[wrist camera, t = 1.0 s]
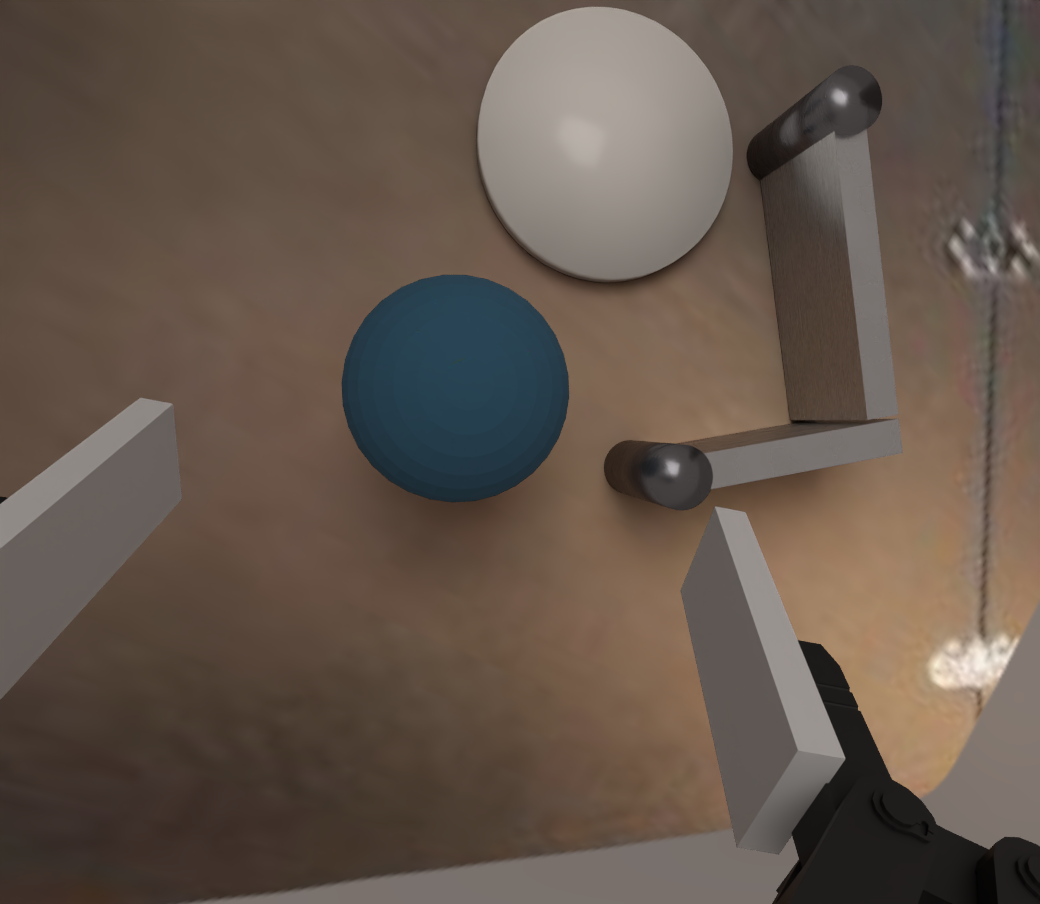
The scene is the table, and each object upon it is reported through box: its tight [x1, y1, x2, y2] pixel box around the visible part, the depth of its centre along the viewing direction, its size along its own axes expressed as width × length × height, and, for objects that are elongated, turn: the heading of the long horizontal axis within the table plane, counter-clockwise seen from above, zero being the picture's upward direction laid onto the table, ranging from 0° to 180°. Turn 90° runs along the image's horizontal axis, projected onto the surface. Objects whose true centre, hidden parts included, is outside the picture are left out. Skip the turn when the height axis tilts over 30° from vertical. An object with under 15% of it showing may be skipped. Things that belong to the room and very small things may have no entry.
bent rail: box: [604, 65, 902, 510], centre depth 31 cm, size 18×13×6 cm
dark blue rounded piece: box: [342, 275, 569, 502], centre depth 26 cm, size 8×8×12 cm
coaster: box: [476, 7, 733, 283], centre depth 33 cm, size 13×13×1 cm
